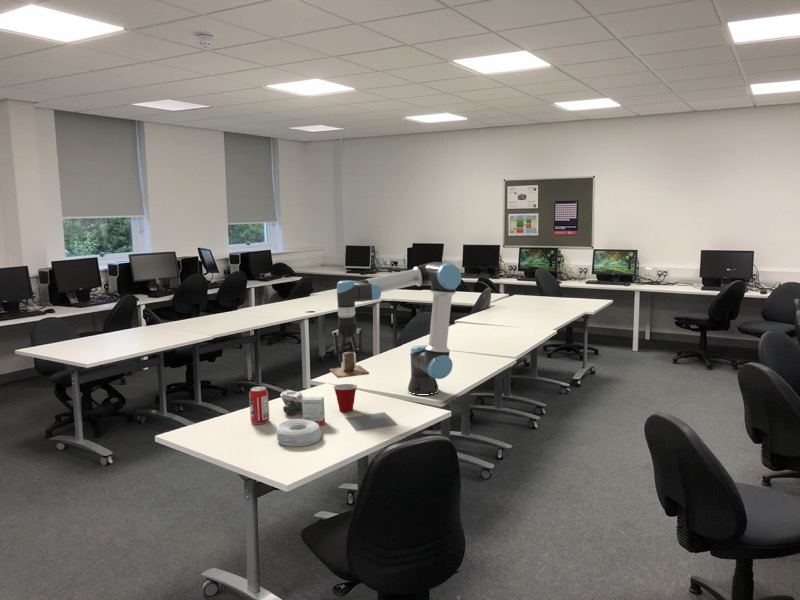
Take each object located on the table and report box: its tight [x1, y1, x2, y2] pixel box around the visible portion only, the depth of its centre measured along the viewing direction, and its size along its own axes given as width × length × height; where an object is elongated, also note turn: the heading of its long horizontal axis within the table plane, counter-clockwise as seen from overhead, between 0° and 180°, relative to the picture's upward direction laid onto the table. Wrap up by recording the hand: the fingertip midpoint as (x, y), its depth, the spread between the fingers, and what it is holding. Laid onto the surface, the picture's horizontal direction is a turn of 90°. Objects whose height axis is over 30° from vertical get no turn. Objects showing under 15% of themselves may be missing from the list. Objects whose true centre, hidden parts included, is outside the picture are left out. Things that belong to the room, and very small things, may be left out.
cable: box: [276, 418, 322, 448], centre depth 237 cm, size 18×18×6 cm
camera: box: [280, 389, 307, 416], centre depth 269 cm, size 9×16×10 cm, turn 49°
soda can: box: [248, 386, 270, 425], centre depth 258 cm, size 8×8×15 cm
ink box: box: [302, 396, 326, 427], centre depth 253 cm, size 9×5×12 cm, turn 84°
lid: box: [329, 351, 370, 379], centre depth 264 cm, size 14×14×9 cm
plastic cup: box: [333, 383, 358, 413], centre depth 269 cm, size 11×11×12 cm
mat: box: [345, 411, 399, 432], centre depth 254 cm, size 18×18×1 cm
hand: (348, 368), depth 265 cm, fingers closed on lid, 4 cm apart
